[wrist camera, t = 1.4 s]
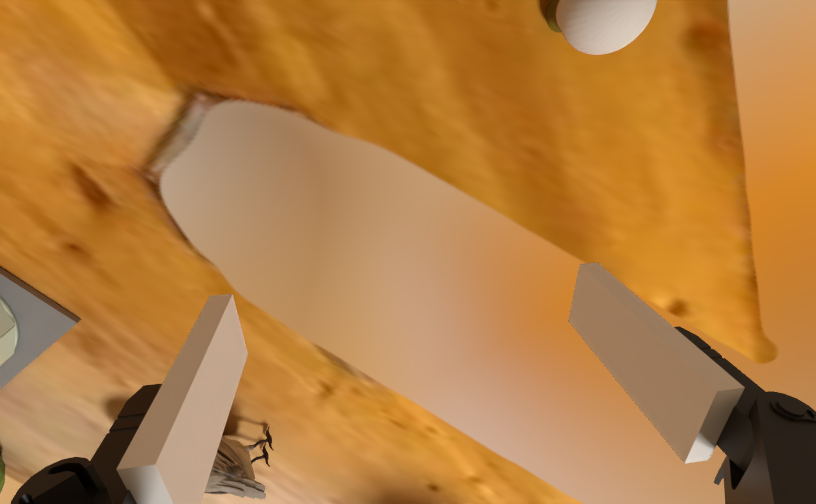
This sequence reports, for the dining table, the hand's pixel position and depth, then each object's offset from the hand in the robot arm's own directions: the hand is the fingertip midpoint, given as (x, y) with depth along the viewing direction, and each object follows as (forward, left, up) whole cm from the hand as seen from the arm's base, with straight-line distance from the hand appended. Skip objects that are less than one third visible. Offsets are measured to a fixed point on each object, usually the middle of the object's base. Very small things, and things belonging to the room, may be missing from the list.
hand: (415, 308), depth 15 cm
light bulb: (0, +19, -24) cm, 31 cm away
